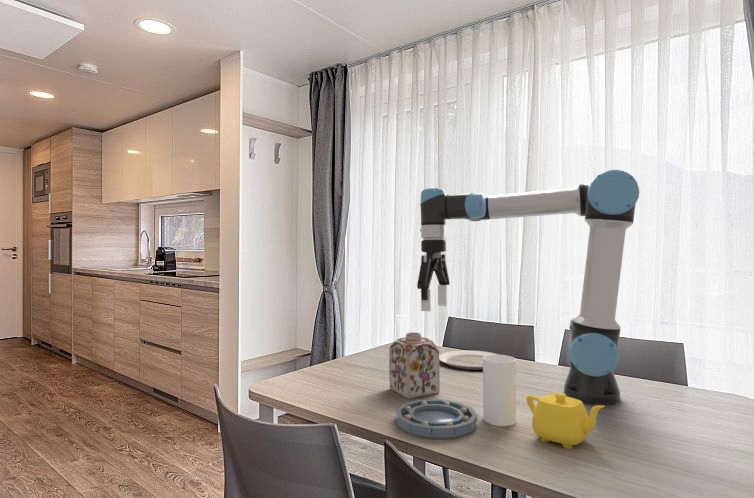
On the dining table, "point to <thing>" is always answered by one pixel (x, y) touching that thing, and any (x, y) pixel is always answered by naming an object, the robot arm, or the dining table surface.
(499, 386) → the cup
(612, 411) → the dining table surface
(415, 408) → the tray
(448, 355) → the plate
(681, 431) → the dining table surface
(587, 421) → the teapot
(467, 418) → the beads
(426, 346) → the decorative jar
